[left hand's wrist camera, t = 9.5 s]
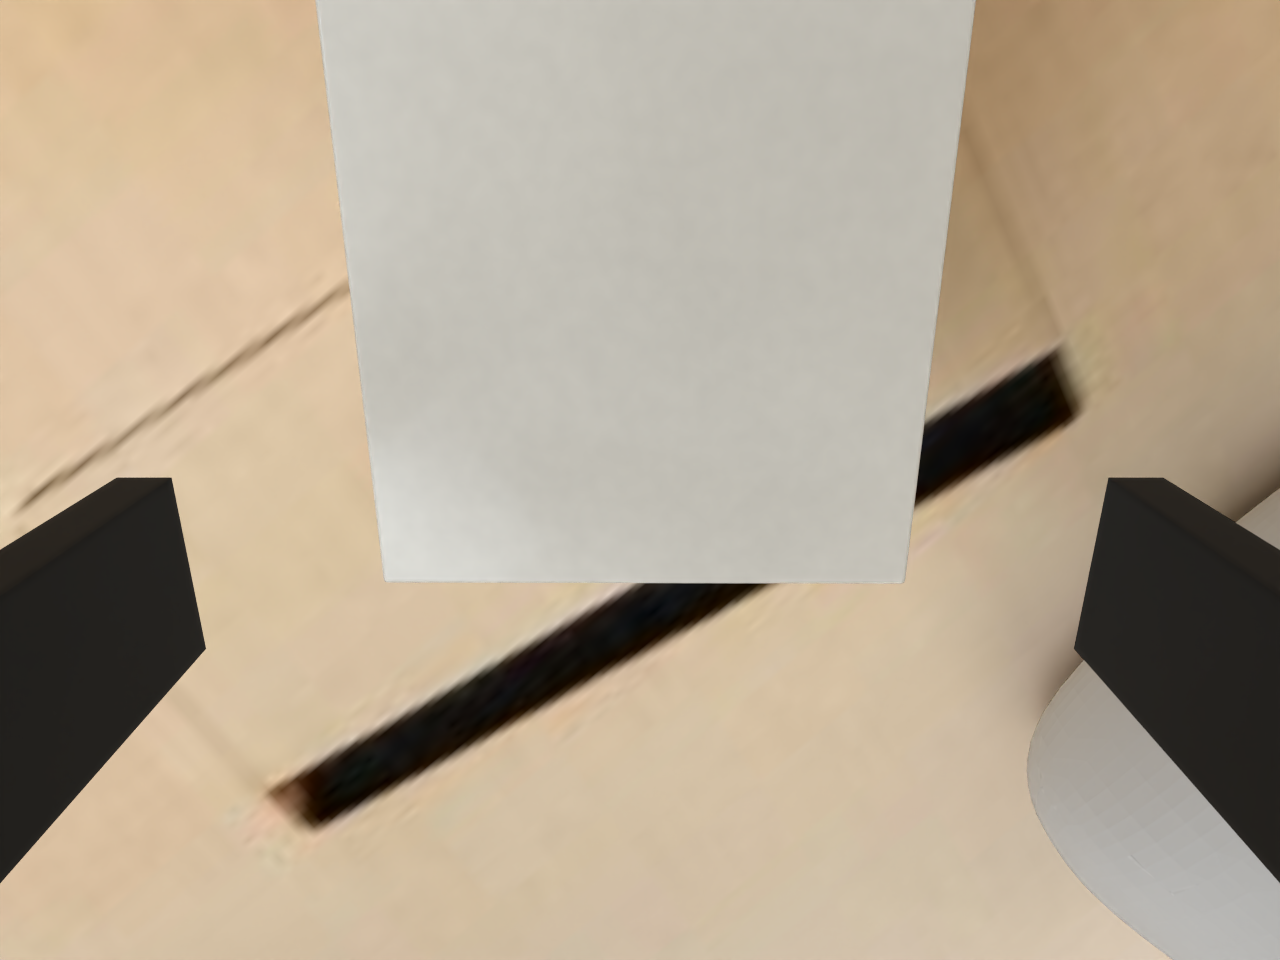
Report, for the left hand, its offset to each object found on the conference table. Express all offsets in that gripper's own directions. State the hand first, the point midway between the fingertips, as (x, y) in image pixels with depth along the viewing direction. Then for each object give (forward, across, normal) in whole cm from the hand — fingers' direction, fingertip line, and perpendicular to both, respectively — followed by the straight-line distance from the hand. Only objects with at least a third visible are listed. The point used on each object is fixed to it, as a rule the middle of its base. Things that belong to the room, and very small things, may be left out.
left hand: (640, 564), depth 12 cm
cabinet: (+15, 0, -6) cm, 17 cm away
